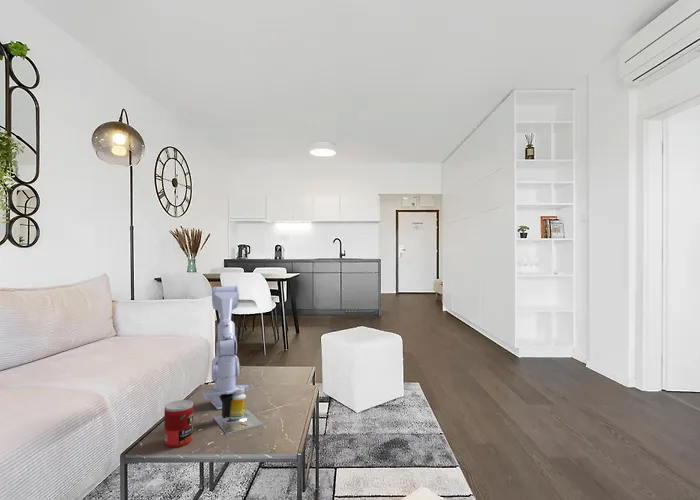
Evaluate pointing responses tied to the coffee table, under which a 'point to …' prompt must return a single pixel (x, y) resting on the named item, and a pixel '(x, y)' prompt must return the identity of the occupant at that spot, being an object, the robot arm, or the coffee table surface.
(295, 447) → the coffee table surface
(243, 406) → the supplement bottle
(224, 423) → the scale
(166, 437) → the canned food
